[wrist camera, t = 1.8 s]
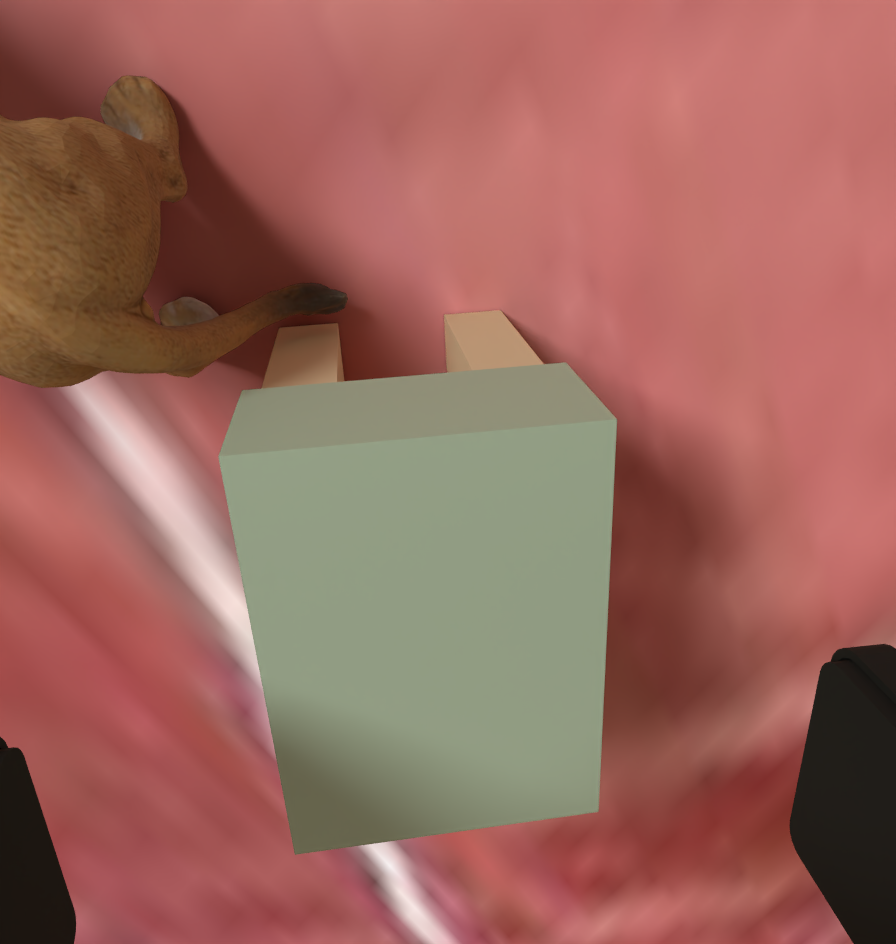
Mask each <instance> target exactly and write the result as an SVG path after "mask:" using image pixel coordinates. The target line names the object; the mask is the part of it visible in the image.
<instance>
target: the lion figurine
mask: <svg viewBox="0 0 896 944" xmlns="http://www.w3.org/2000/svg"><path fill="white" fill-rule="evenodd" d="M101 115H102V118H103V120H104V122H105V124H104V123H101V122H98V121H96V120H93V119H89V118H85V117H70V118H66V119H62V120H58V119H53V118H34V119H29V120H24V121H13V120H10V119H6V118H5V117H3V116H2V115H0V375H2V376H4V377H7V378H10V379H13V380H16V381H19V382H22V383H26V384H29V385H33V386H37V387H41V388H47V387H64V386H72V385H75V384H78V383H80V382H83V381H85V380H88V379H90V378H92V377H93V376H95V375H97V374H99V373H100V372H103V371H108V370H110V371H115V372H123V373H167V374H169V375H173V376H181V377H188V378H189V377H192V376H194V375H196V374H197V373H199V372H200V371H202V370H203V369H204V368H205V367H207V366H208V365H210V364H211V363H212V362H213V361H215V360H216V359H218V358H219V357H221V356H223V355H225V354H226V353H228V352H230V351H231V350H233V349H235V348H237V347H238V346H240V345H241V344H242V343H244V342H245V341H246V340H247V339H249V338H250V337H251V336H252V335H253V334H255V333H257V332H258V331H260V330H261V329H263V328H264V327H266V326H269V325H271V324H273V323H275V322H277V321H280V320H282V319H284V318H286V317H288V316H291V315H295V314H303V315H312V314H331V313H335V312H338V311H340V310H342V309H344V308H345V305H346V303H347V300H348V298H347V295H346V294H345V293H343V292H340V291H337V290H333V289H330V288H328V287H326V286H324V285H322V284H316V283H299V284H295V285H291V286H288V287H286V288H283V289H280V290H277V291H271V292H269V293H267V294H266V295H264V296H262V297H260V298H259V299H257V300H255V301H253V302H251V303H248V304H246V305H244V306H242V307H240V308H238V309H236V310H234V311H231V312H228V313H225V314H222V315H220V316H219V315H218V314H217V313H216V312H215V311H214V310H213V309H212V308H211V307H210V306H209V305H207V304H205V303H203V302H201V301H199V300H197V299H195V298H193V297H181V298H179V299H177V300H175V301H172V302H169V303H167V304H165V305H163V306H162V308H161V309H160V311H159V317H160V320H161V325H159V324H158V323H157V322H156V321H155V319H154V314H153V310H152V308H151V307H150V305H149V304H148V303H147V302H146V301H145V299H144V298H143V294H144V293H145V291H146V289H147V287H148V285H149V283H150V280H151V278H152V275H153V273H154V270H155V267H156V263H157V259H158V254H159V248H160V231H161V214H160V202H161V201H169V202H173V203H174V202H177V201H179V200H181V199H182V198H183V197H184V196H185V195H186V192H187V179H186V176H185V173H184V170H183V166H182V163H181V159H180V155H179V148H178V145H179V131H178V124H177V120H176V117H175V114H174V111H173V109H172V107H171V105H170V103H169V101H168V98H167V96H166V95H165V94H164V93H163V91H162V90H161V89H160V88H159V87H158V86H157V85H156V84H155V83H154V82H153V81H152V80H150V79H148V78H146V77H141V76H123V77H121V78H120V79H119V80H118V81H116V82H115V83H114V84H113V85H112V86H111V87H110V88H109V90H108V92H107V95H106V97H105V99H104V100H103V102H102V104H101Z"/></svg>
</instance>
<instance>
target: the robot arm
mask: <svg viewBox="0 0 896 944" xmlns="http://www.w3.org/2000/svg"><path fill="white" fill-rule="evenodd" d="M790 834H791V838H792V842H793V845H794V847H795V850H796V852H797V854H798V855H799V857H800V859H801V860H802V862H803V864H804V865H805V867H806V868H807V870H808V871H809V873H810V875H811V876H812V878H813V879H814V881H815V883H816V884H817V886H818V887H819V889H820V891H821V892H822V894H823V895H824V897H825V899H826V900H827V902H828V903H829V905H830V907H831V908H832V910H833V911H834V913H835V915H836V916H837V918H838V919H839V921H840V923H841V924H842V926H843V927H844V929H845V931H846V932H847V934H848V935H849V937H850V939H851V940H852V942H853V943H854V944H896V649H895V648H894V647H892V646H890V645H886V644H879V645H870V646H860V647H850V648H842V649H839V650H837V651H836V652H835V653H834V654H833V656H832V659H831V662H828V663H825V664H824V665H823V666H822V668H821V671H820V675H819V680H818V684H817V689H816V694H815V699H814V704H813V709H812V714H811V719H810V724H809V729H808V734H807V739H806V744H805V749H804V754H803V759H802V764H801V769H800V773H799V778H798V783H797V788H796V793H795V798H794V803H793V808H792V813H791V818H790ZM75 933H76V916H75V911H74V907H73V904H72V901H71V898H70V895H69V892H68V889H67V886H66V883H65V880H64V877H63V874H62V871H61V868H60V865H59V862H58V858H57V855H56V852H55V849H54V846H53V843H52V840H51V837H50V834H49V831H48V828H47V825H46V822H45V819H44V816H43V813H42V810H41V807H40V803H39V800H38V797H37V794H36V791H35V788H34V785H33V782H32V779H31V776H30V773H29V770H28V767H27V764H26V761H25V758H24V755H23V753H22V751H21V750H20V749H19V748H8V746H7V744H6V742H5V741H4V740H3V739H2V738H1V737H0V944H74V939H75Z"/></svg>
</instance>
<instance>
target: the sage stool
mask: <svg viewBox="0 0 896 944" xmlns="http://www.w3.org/2000/svg"><path fill="white" fill-rule="evenodd" d="M444 328H445V347H446V366H447V372H448V373H437V374H425V375H413V376H402V377H390V378H379V379H367V380H355V381H344V373H343V364H342V355H341V346H340V337H339V328H338V323H332V324H320V325H307V326H294V327H282V328H279V330H278V333H277V336H276V340H275V343H274V347H273V350H272V354H271V357H270V361H269V364H268V367H267V371H266V374H265V378H264V381H263V385H262V388H261V389H250V390H242V392H241V395H240V397H239V400H238V403H237V406H236V409H235V411H234V414H233V417H232V420H231V423H230V425H229V428H228V431H227V434H226V437H225V439H224V442H223V445H222V448H221V451H220V453H219V456H218V457H219V462H220V467H221V473H222V478H223V483H224V488H225V493H226V499H227V504H228V509H229V514H230V519H231V525H232V530H233V535H234V540H235V545H236V551H237V556H238V561H239V566H240V571H241V577H242V582H243V587H244V592H245V597H246V603H247V608H248V613H249V618H250V623H251V629H252V634H253V639H254V644H255V649H256V655H257V660H258V665H259V670H260V675H261V681H262V686H263V691H264V696H265V701H266V707H267V712H268V717H269V722H270V727H271V733H272V738H273V743H274V748H275V753H276V759H277V764H278V769H279V774H280V779H281V785H282V790H283V795H284V800H285V805H286V811H287V816H288V821H289V826H290V831H291V837H292V842H293V847H294V852H295V854H303V853H310V852H317V851H324V850H331V849H338V848H345V847H352V846H359V845H366V844H374V843H381V842H388V841H395V840H402V839H409V838H416V837H423V836H430V835H437V834H445V833H452V832H459V831H466V830H473V829H480V828H487V827H494V826H501V825H508V824H516V823H523V822H530V821H537V820H544V819H551V818H558V817H565V816H572V815H579V814H587V813H594V812H598V811H599V790H600V769H601V747H602V726H603V705H604V684H605V663H606V642H607V621H608V599H609V578H610V557H611V536H612V515H613V494H614V473H615V451H616V430H617V419H616V418H615V416H614V415H613V414H612V413H611V412H610V411H609V410H608V409H607V408H606V406H605V405H604V404H603V403H602V402H601V401H600V400H599V399H598V398H597V396H596V395H595V394H594V393H593V392H592V391H591V390H590V389H589V388H588V386H587V385H586V384H585V383H584V382H583V381H582V380H581V379H580V378H579V376H578V375H577V374H576V373H575V372H574V371H573V370H572V369H571V368H570V366H569V365H568V364H567V363H566V362H565V363H553V364H543V362H542V361H541V360H540V359H539V357H538V356H537V355H536V354H535V352H534V351H533V350H532V349H531V347H530V346H529V345H528V344H527V342H526V341H525V340H524V339H523V338H522V336H521V335H520V334H519V333H518V331H517V330H516V329H515V328H514V326H513V325H512V324H511V323H510V321H509V320H508V319H507V318H506V316H505V315H504V314H503V313H502V311H501V310H497V311H484V312H472V313H459V314H446V315H444Z"/></svg>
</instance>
